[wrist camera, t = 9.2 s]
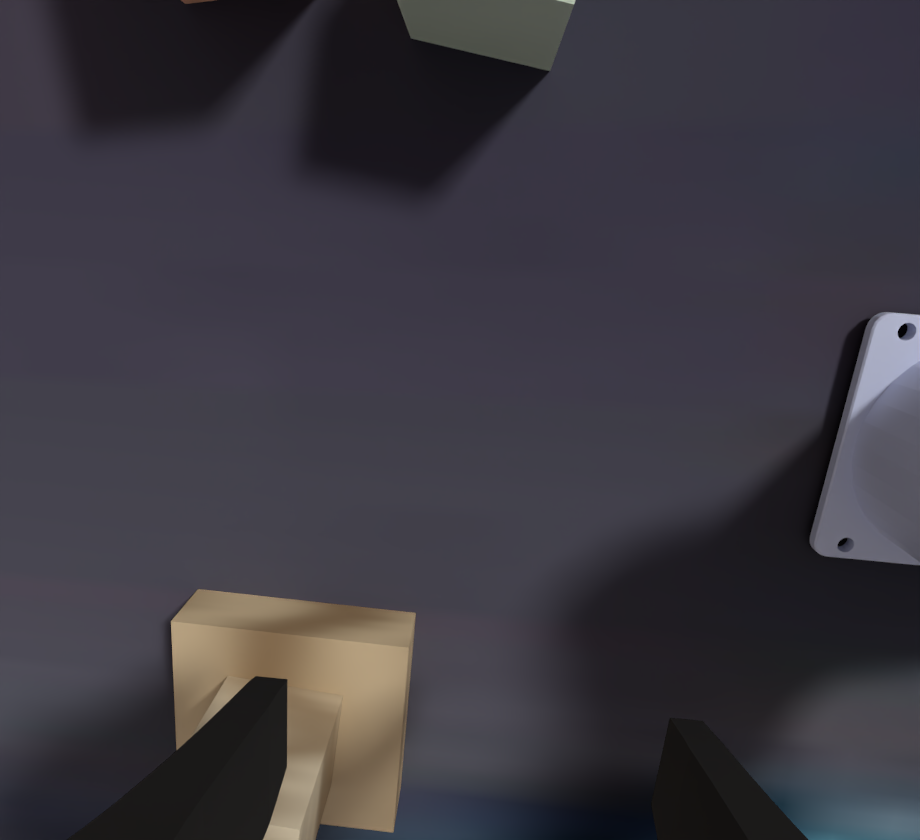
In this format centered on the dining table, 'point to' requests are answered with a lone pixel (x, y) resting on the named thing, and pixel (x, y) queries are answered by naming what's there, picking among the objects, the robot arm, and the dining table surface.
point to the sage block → (492, 27)
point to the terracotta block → (194, 1)
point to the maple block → (298, 757)
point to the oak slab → (308, 682)
